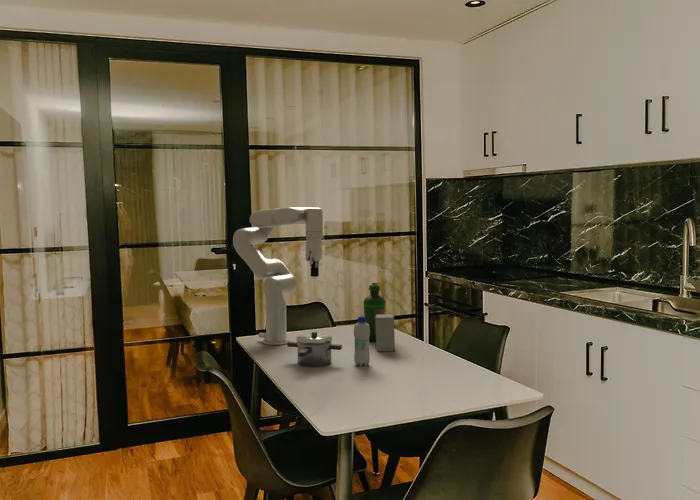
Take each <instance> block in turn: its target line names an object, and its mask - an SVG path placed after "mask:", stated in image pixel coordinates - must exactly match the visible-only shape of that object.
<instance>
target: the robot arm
mask: <svg viewBox="0 0 700 500" xmlns="http://www.w3.org/2000/svg"><path fill="white" fill-rule="evenodd" d="M323 213H324V212H323V209H322V208H321V207H306V206H305V207H304V206H303V207H301V206H297V207H296V206H294V207H281V208H270V209H260V210H259V209H258V210H255V211H253V212H252V213H251V214H250V217H249V223H250V224H251V226H252V227H242V228H239V229H237V230H236V231H235V232H234V233H233V237H232V244H233V247H234V249H235V252H236V253H237V254H238V256H239V257H240V258H241V259H242V260H243V261H244V262H245V264H246V265H247V266H248V267H249V269H250V271H252V272H253V274H254V275H255V277H256V278H258V279H259V280H264V282H263V284H262V285H263V286H262V287H263V288H262V289H263V293H264V298H265V323H266V324H265V330H266V332H259V333H258V337H259V338H261V339H262V338H263V341H262V343H263V344H264V345H268V346H279V345H281V346H282V345H287V343H288V342H291V339H290V338H288V337H287V304H286V300H285V298H284V296H285V295H289V294H292V293H295V291H297V288H298V281H297V279H296V277H295V276H294V274H293V273H292V272H291V270H290V269H289V268H288V267H287V266H286V265H285V263H284V262H283V261H282V260H280V259H278V258H267V257H265V256H264V255H263V254H262V252H261V251H260V250H259V249H257V248H256V247H255V245H262V244H264V243H265V242H267V240H268V239H269V237H270V236H271V234H272V233H273V231H274V230H275V228H279V227H281V226H285V225H305V239H306V243H305V261H306V262H309V263H308V264H309V265H310V277H313V278H314V277H315V278H317V277H319V276H320V275H319V272H320V271H319V269H320V268H319V267H320V264H319V263H320V261H321V260H322V258H323V247H322V246H323V244H322V243H323V242H322V239H324V235H323V234H324V233H323V231H324V229H323V228H324V226H323V225H324V221H323V220H324V219H323V216H324V215H323ZM283 295H284V296H283Z"/></svg>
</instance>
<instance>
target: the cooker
mask: <svg viewBox="0 0 700 500" xmlns="http://www.w3.org/2000/svg"><path fill="white" fill-rule="evenodd" d="M286 345H287V346H286V347H289V348H292V347H293V348H297V364H298V365H299V366H302V367H308V368H309V367H310V368H318V367H319V368H320V367H326V366H329V365H331V364H332V350H335V351H336V350H337V351H342V350H343V345H342V344H335V343H332V341H330V342H327V343H321V344H305V343H300V342H298V341H297V340H296V341H290V342H288V343H287V344H286Z"/></svg>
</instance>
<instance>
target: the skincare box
mask: <svg viewBox="0 0 700 500" xmlns="http://www.w3.org/2000/svg"><path fill="white" fill-rule="evenodd" d="M375 320H376V342H375V346H376V349H375V350H376V352H395V346H396V345H395V344H396V343H395V341H396V340H395V339H396V338H395V315H394V314H385V315H376V318H375Z"/></svg>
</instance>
